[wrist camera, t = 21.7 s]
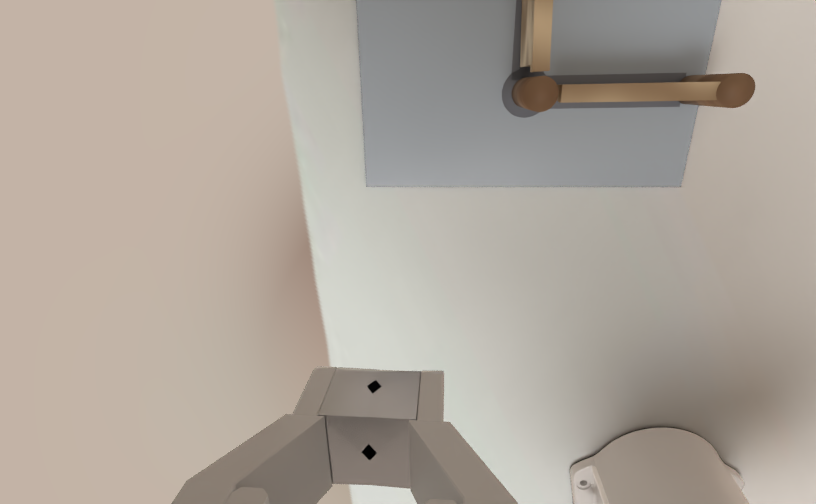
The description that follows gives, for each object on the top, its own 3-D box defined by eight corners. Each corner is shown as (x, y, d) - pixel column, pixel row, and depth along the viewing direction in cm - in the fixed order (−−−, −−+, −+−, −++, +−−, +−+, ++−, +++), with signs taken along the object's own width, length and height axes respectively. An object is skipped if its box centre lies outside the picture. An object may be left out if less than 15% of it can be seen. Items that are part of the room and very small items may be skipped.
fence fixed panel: (698, 105, 35) (749, 109, 29) (509, 107, 37) (522, 112, 30) (704, 73, 34) (759, 71, 28) (511, 77, 36) (524, 76, 30)
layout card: (679, 186, 38) (681, 187, 37) (367, 185, 40) (366, 186, 40) (754, -162, 29) (758, -165, 29) (349, -136, 31) (348, -138, 31)
